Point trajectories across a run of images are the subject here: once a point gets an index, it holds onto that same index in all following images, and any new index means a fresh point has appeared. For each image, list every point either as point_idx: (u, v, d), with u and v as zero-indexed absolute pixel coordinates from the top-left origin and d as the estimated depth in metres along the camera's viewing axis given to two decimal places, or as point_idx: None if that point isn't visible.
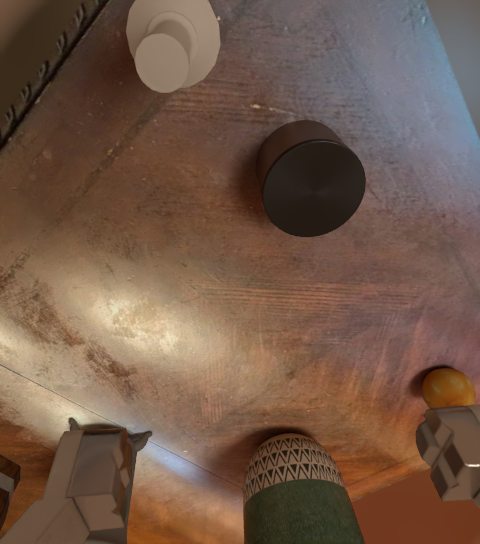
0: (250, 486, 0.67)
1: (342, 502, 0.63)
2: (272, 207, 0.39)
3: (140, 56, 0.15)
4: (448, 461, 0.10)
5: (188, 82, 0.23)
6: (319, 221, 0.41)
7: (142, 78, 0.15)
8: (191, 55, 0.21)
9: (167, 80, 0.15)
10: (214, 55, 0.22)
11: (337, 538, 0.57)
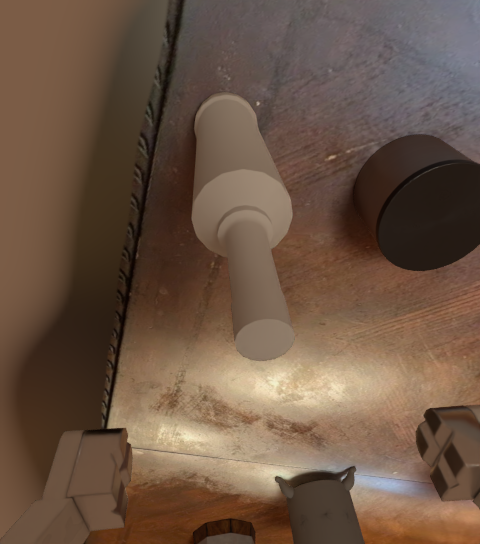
0: None
1: None
2: (396, 256, 0.34)
3: (240, 345, 0.13)
4: (448, 461, 0.10)
5: (273, 245, 0.21)
6: (457, 244, 0.34)
7: (250, 358, 0.14)
8: (269, 236, 0.19)
9: (276, 348, 0.14)
10: (289, 211, 0.20)
11: None
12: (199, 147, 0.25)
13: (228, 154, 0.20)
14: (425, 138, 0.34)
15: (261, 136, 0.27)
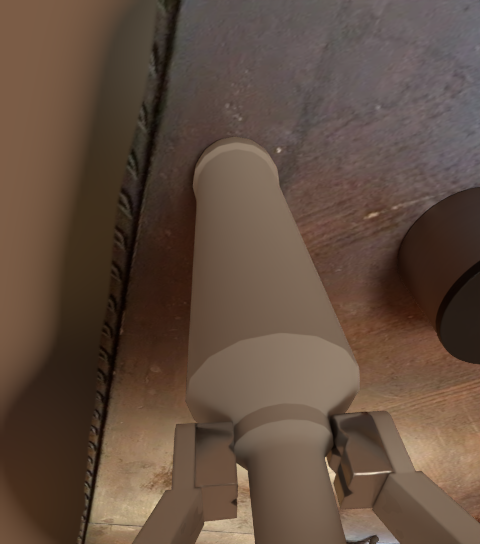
0: None
1: None
2: (462, 349, 0.26)
3: None
4: (343, 469, 0.10)
5: None
6: None
7: None
8: (326, 451, 0.10)
9: None
10: (355, 387, 0.11)
11: None
12: (199, 237, 0.16)
13: (249, 282, 0.12)
14: None
15: (289, 211, 0.19)
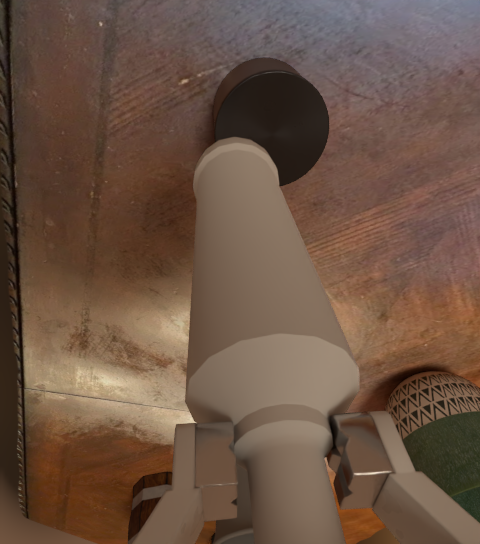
0: None
1: None
2: None
3: None
4: (343, 469, 0.10)
5: None
6: (296, 159, 0.36)
7: None
8: (326, 451, 0.10)
9: None
10: (355, 387, 0.11)
11: None
12: (199, 237, 0.17)
13: (248, 282, 0.12)
14: (266, 59, 0.36)
15: (289, 211, 0.19)
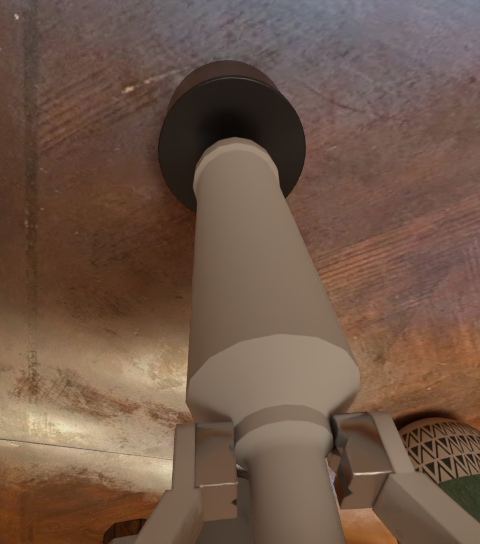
0: None
1: None
2: (195, 202, 0.29)
3: None
4: (343, 469, 0.10)
5: None
6: None
7: None
8: (327, 452, 0.10)
9: None
10: (355, 388, 0.11)
11: None
12: (200, 238, 0.17)
13: (249, 283, 0.12)
14: (228, 62, 0.29)
15: None
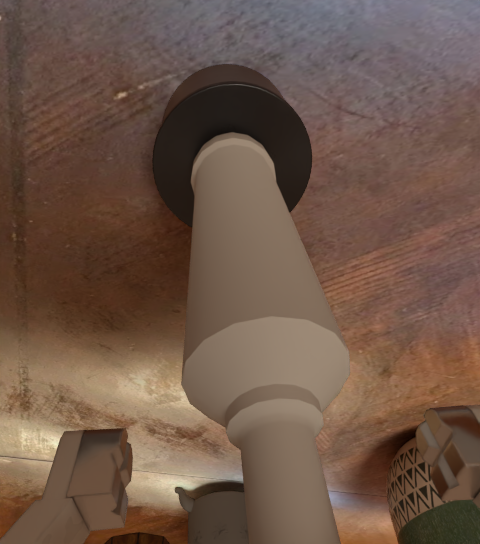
0: (395, 517, 0.53)
1: None
2: None
3: None
4: (448, 461, 0.10)
5: None
6: None
7: None
8: (317, 430, 0.11)
9: None
10: (345, 370, 0.12)
11: None
12: (196, 229, 0.17)
13: (243, 269, 0.12)
14: (228, 67, 0.27)
15: (285, 204, 0.19)
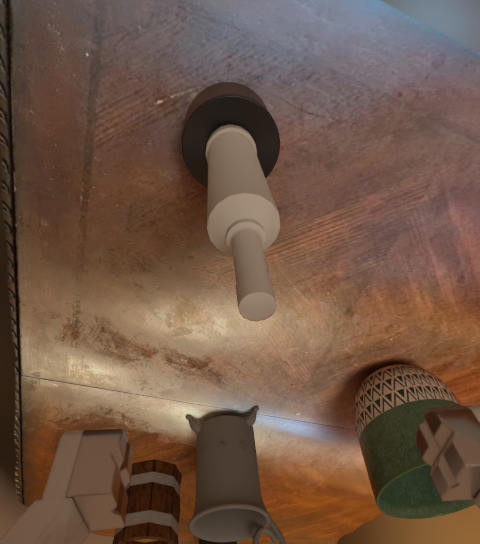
0: (358, 427, 0.68)
1: None
2: (205, 178, 0.43)
3: (242, 310, 0.21)
4: (448, 461, 0.10)
5: (266, 247, 0.28)
6: None
7: (248, 319, 0.21)
8: (263, 240, 0.26)
9: (264, 312, 0.21)
10: (277, 222, 0.27)
11: None
12: (211, 172, 0.33)
13: (233, 180, 0.28)
14: (228, 84, 0.43)
15: None
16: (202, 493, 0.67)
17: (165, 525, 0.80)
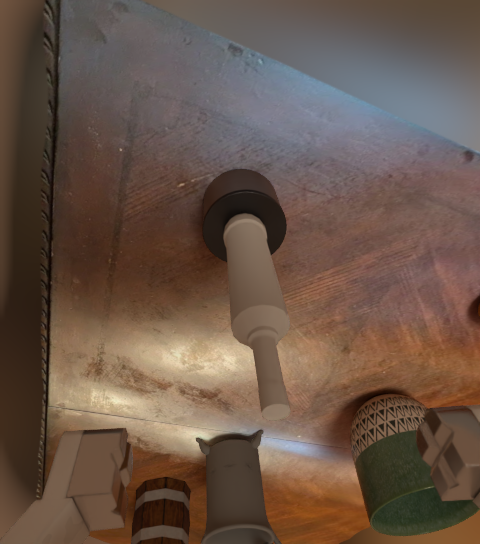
0: (354, 452, 0.75)
1: None
2: (222, 254, 0.49)
3: (264, 414, 0.28)
4: (448, 461, 0.10)
5: (279, 340, 0.35)
6: None
7: (268, 419, 0.28)
8: (276, 341, 0.33)
9: (281, 415, 0.28)
10: (288, 323, 0.34)
11: None
12: (231, 269, 0.39)
13: (252, 288, 0.35)
14: (241, 172, 0.49)
15: (270, 255, 0.42)
16: (213, 513, 0.74)
17: (177, 539, 0.87)
